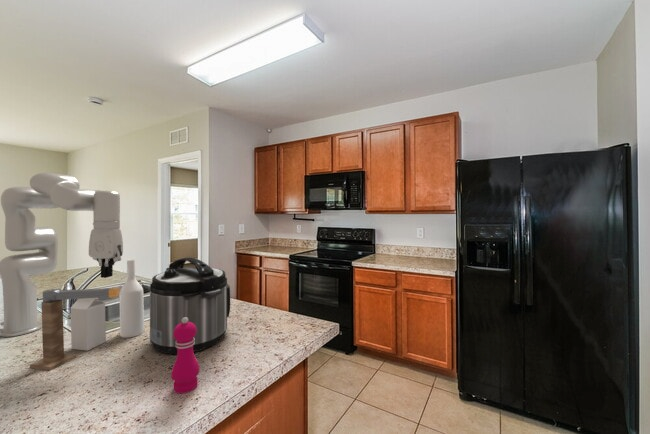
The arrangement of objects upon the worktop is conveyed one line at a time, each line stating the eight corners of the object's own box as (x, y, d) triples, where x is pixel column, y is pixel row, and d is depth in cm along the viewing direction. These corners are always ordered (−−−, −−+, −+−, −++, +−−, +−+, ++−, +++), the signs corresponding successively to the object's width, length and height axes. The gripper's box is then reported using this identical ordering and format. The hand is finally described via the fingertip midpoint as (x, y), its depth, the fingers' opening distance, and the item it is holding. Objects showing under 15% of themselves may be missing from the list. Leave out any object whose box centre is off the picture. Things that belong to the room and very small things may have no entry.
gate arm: (39, 302, 93) (38, 293, 93) (49, 298, 97) (48, 289, 97) (114, 298, 97) (114, 289, 97) (120, 294, 101) (120, 286, 101)
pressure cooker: (232, 351, 104) (231, 262, 103) (140, 365, 95) (138, 268, 94) (229, 320, 132) (228, 250, 131) (158, 329, 123) (157, 254, 122)
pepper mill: (177, 379, 87) (177, 313, 86) (203, 378, 87) (202, 312, 87) (166, 395, 80) (165, 322, 79) (194, 394, 80) (193, 321, 80)
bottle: (129, 329, 123) (128, 257, 122) (148, 329, 123) (147, 258, 122) (115, 337, 115) (113, 261, 114) (134, 338, 114) (133, 261, 113)
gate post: (50, 370, 92) (48, 305, 91) (29, 367, 93) (27, 304, 92) (76, 357, 100) (74, 297, 99) (56, 355, 101) (55, 296, 100)
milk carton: (87, 351, 104) (86, 298, 103) (71, 349, 105) (69, 296, 105) (106, 342, 111) (105, 292, 110) (90, 340, 112) (89, 291, 112)
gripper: (78, 225, 102) (78, 277, 102) (115, 227, 99) (115, 281, 100) (98, 224, 109) (98, 272, 110) (133, 226, 106) (133, 276, 107)
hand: (106, 276), depth 105 cm, fingers closed
